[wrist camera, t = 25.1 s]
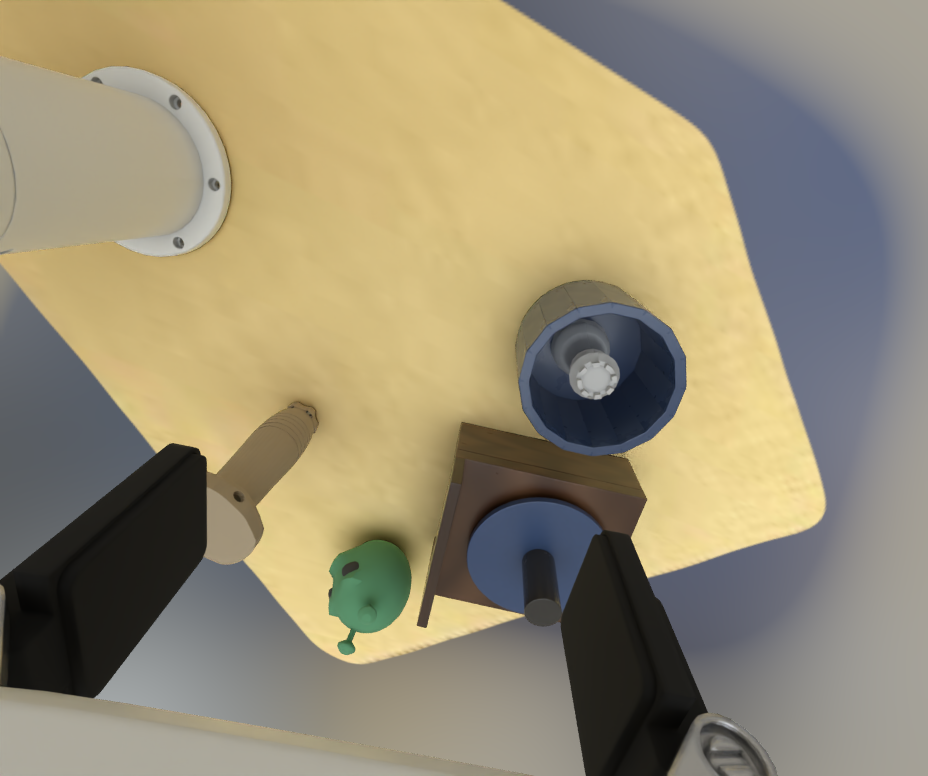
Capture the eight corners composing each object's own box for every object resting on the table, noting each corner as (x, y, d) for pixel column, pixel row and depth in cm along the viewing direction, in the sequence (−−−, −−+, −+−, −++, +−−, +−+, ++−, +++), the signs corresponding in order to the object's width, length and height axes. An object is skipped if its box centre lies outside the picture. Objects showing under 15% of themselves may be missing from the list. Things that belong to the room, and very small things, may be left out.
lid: (455, 588, 41) (447, 652, 35) (484, 478, 37) (481, 530, 31) (584, 616, 41) (597, 684, 35) (628, 510, 37) (652, 568, 31)
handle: (295, 375, 41) (190, 466, 27) (345, 428, 43) (270, 540, 29) (258, 405, 43) (140, 506, 29) (308, 456, 44) (220, 575, 30)
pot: (503, 389, 40) (503, 436, 32) (535, 266, 36) (544, 286, 28) (622, 416, 40) (651, 470, 32) (668, 296, 36) (713, 324, 28)
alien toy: (360, 508, 46) (324, 587, 37) (430, 543, 47) (412, 629, 38) (332, 556, 49) (292, 642, 39) (399, 589, 49) (375, 679, 40)
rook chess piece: (553, 315, 37) (565, 345, 30) (611, 319, 37) (639, 350, 29) (547, 369, 39) (557, 410, 31) (602, 373, 38) (626, 415, 31)
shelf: (432, 545, 47) (416, 626, 38) (461, 421, 42) (450, 482, 33) (580, 578, 47) (598, 666, 38) (628, 459, 42) (661, 529, 33)
